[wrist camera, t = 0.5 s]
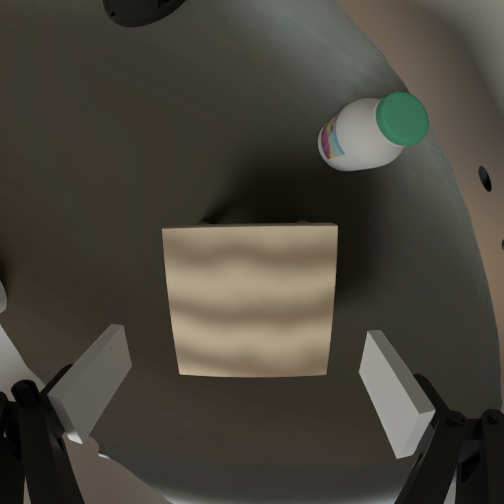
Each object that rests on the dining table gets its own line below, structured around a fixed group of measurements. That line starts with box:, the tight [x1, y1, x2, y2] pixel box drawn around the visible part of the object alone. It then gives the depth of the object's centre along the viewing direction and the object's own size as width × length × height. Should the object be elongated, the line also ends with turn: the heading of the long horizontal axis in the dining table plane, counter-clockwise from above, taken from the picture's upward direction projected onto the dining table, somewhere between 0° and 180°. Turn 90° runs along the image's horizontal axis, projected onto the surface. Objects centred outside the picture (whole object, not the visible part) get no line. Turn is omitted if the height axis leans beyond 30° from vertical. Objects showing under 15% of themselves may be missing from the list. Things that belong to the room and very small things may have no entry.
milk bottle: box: [318, 92, 429, 171], centre depth 29 cm, size 8×8×20 cm
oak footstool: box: [162, 220, 338, 377], centre depth 37 cm, size 18×18×12 cm
